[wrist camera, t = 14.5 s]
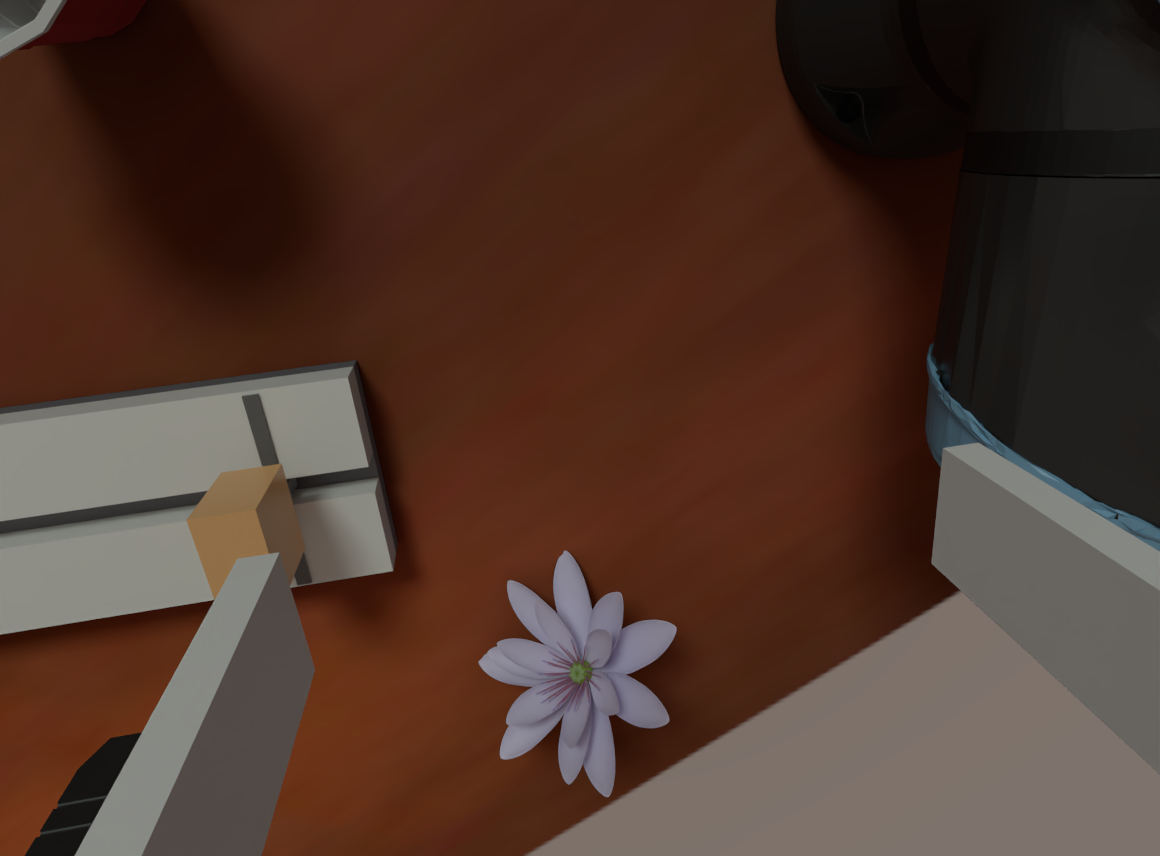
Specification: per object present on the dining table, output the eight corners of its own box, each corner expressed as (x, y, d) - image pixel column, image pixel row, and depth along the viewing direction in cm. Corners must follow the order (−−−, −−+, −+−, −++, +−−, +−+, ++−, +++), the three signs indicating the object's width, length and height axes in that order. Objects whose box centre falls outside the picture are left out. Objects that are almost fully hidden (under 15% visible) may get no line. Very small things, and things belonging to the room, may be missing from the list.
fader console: (-141, 427, 39) (-195, 452, 35) (356, 360, 41) (347, 378, 38) (-44, 612, 43) (-84, 650, 40) (397, 542, 46) (392, 573, 42)
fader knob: (242, 444, 40) (186, 520, 32) (297, 436, 41) (255, 509, 33) (265, 522, 42) (218, 612, 34) (318, 514, 43) (283, 601, 35)
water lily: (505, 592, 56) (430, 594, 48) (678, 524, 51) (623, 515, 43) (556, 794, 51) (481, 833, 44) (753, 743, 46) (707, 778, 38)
